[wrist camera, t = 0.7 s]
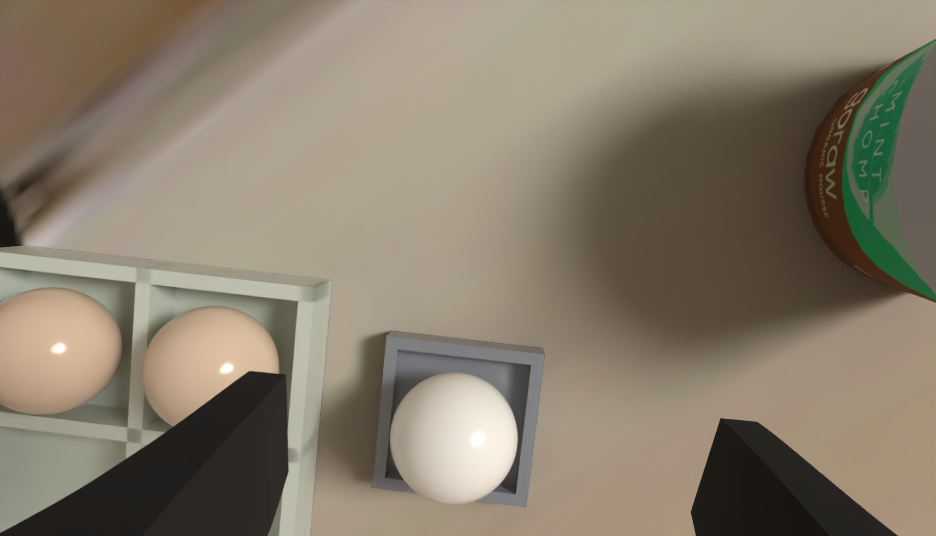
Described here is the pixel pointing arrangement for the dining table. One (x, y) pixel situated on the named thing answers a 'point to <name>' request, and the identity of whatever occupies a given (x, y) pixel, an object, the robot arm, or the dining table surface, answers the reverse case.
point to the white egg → (453, 438)
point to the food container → (881, 175)
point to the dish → (492, 362)
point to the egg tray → (123, 400)
